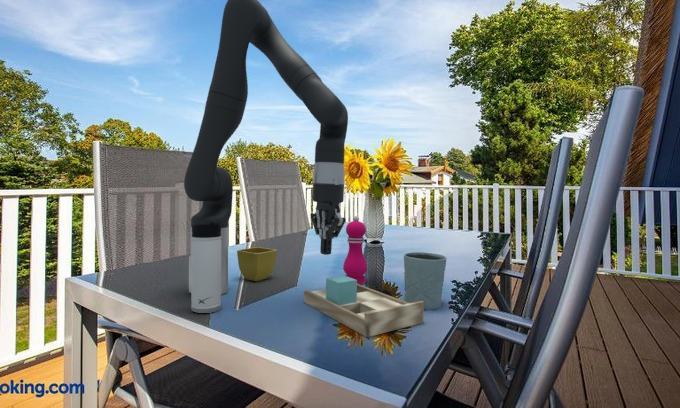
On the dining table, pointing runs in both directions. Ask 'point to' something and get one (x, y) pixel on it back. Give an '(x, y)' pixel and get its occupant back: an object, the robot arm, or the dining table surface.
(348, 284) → the teal block
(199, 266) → the travel mug
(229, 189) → the robot arm
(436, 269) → the grey green cup
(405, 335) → the dining table surface
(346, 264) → the pepper mill
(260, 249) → the flower pot
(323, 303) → the tray
